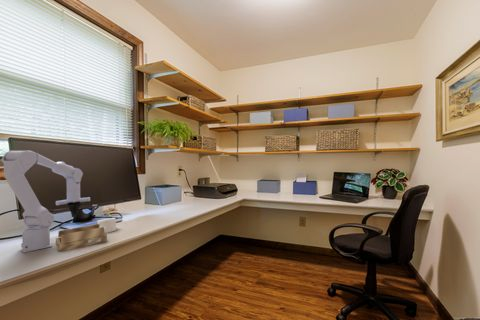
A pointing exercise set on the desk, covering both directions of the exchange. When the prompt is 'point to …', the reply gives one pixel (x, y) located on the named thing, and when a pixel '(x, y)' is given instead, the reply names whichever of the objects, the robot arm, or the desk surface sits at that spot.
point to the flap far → (77, 229)
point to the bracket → (108, 224)
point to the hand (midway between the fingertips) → (73, 216)
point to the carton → (80, 242)
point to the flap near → (82, 235)
